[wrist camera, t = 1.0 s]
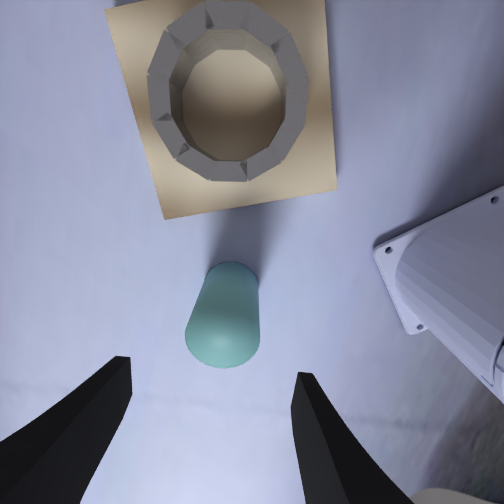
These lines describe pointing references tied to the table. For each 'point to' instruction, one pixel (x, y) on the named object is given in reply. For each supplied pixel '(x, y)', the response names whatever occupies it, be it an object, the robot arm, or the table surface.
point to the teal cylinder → (225, 317)
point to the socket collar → (201, 46)
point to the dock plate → (231, 108)
